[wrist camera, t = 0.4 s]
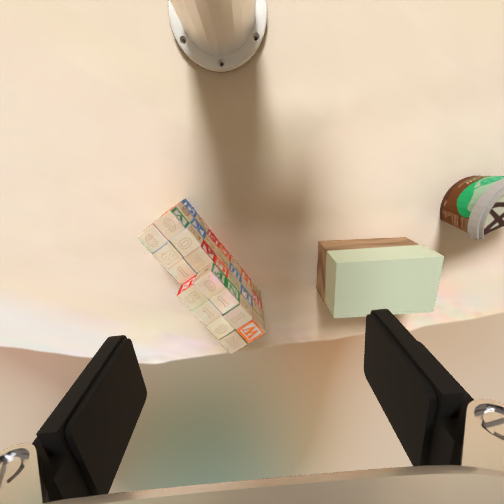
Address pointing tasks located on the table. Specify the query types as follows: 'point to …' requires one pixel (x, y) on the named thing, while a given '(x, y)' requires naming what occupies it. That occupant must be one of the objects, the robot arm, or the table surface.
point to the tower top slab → (382, 280)
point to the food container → (475, 205)
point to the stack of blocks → (206, 276)
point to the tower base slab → (351, 244)
